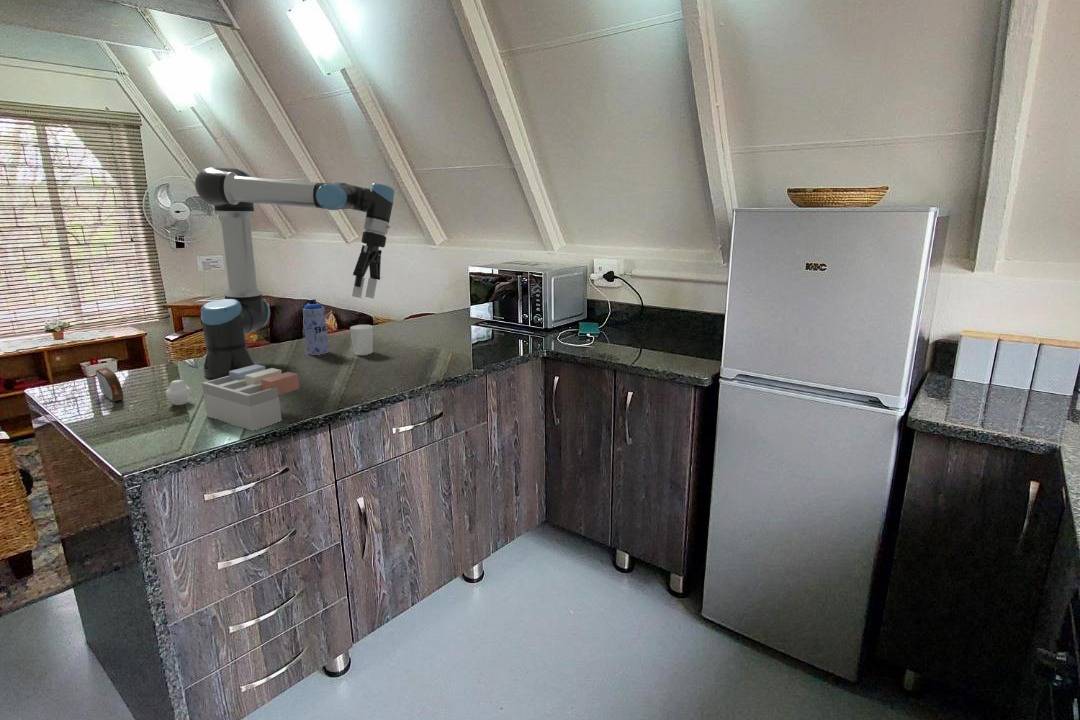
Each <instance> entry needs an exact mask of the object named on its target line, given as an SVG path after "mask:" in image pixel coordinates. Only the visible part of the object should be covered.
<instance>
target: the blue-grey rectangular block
mask: <svg viewBox="0 0 1080 720" xmlns="http://www.w3.org/2000/svg"><path fill="white" fill-rule="evenodd" d="M263 370H266V366H265V365H260V364H255V365H252V366H248V367H244V368H240V369H236V370H232V371H229V375H230V382H231V381H235V380H238V379H242V378H244V379H245V375H248V374H251V373H255V372H259V371H263Z"/></svg>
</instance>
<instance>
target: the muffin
mask: <svg viewBox="0 0 1080 720" xmlns="http://www.w3.org/2000/svg"><path fill="white" fill-rule="evenodd" d="M191 393H192V388H191V387H190V386H188V385H187V384H186V383H185V381H184V380H183V379H176V380H172V381H170V383H169V386H168V388H167V389H166V390H165V395H166V397H167V398H168V399H169V401H170V402H171V403H172V404H173V405H174V406H181V405H182V406H183V405H185V404H187V403H188V401H189V399H190V397H191Z"/></svg>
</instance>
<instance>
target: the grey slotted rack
mask: <svg viewBox="0 0 1080 720" xmlns="http://www.w3.org/2000/svg"><path fill="white" fill-rule="evenodd" d="M201 386H202V393H203V400H204V406H205V412H206V417H208V418H211V419H213V418H214V420H216V419H218V420H217V421H219V420H221V421H220V422H222V421H224V422H223V423H225V422H227V423H226V424H229V423H230V424H229V425H232V424H234V425H233V426H235V425H237V426H236V427H238V426H240V427H239V428H241V427H243V428H242V429H244V428H246V429H245V430H247V429H249V430H248V431H250V430H252V431H251V432H255V431H254V430H256V429H259V428H262V427H265V428H267V427H266V426H268V427H270V426H273V425H275V424H274V423H276V424H278V423H277V422H279V423H281V422H280V421H282V411H281V405H280V398H279V397H280V395H278V387H274V388H270V389H267V390H263V391H262V383H255V384H252V385H248V386H246V382H245V379H244V378H242V379H238V380H235V381H231V382H230V376H226V377H222V378H218V379H211V380H207V381H204V382H201ZM272 424H273V425H272ZM269 425H270V426H269ZM262 429H263V428H262ZM259 430H260V429H259ZM256 431H257V430H256Z"/></svg>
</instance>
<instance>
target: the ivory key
mask: <svg viewBox="0 0 1080 720" xmlns="http://www.w3.org/2000/svg"><path fill="white" fill-rule="evenodd" d="M282 373H283V372H282V369H277V368H274V367H270V368H267V369H266V370H263V371H259V372H255V373H251V374H248V375H245V382H246V386H248V385H252V384H255V383H261V379H264V378H268V377H272V376H275V375H279V374H282Z"/></svg>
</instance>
